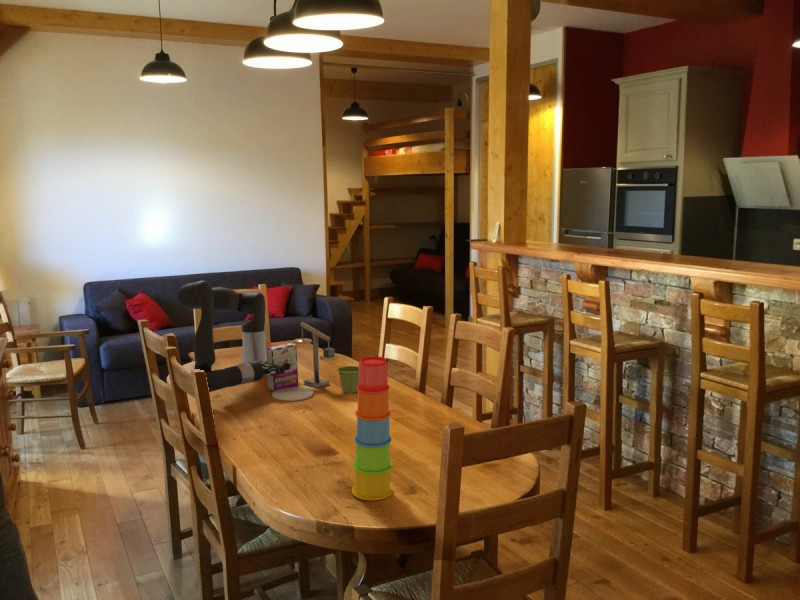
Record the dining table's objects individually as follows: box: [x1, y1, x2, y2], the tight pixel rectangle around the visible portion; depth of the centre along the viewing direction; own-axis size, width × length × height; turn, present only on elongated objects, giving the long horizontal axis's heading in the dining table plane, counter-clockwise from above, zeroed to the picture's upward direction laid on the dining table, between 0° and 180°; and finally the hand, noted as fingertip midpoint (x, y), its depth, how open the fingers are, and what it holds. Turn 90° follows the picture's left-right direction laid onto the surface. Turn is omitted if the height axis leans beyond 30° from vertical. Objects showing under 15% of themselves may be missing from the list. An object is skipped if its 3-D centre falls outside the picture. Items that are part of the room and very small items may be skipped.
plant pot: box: [337, 365, 359, 395], centre depth 269 cm, size 9×9×9 cm
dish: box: [271, 386, 314, 402], centre depth 266 cm, size 15×15×1 cm
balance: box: [293, 321, 339, 389], centre depth 278 cm, size 22×7×24 cm, turn 47°
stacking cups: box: [351, 355, 394, 502], centre depth 178 cm, size 10×10×35 cm
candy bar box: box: [265, 342, 299, 392], centre depth 275 cm, size 11×5×16 cm, turn 132°
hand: (282, 364), depth 275 cm, fingers open, 8 cm apart
